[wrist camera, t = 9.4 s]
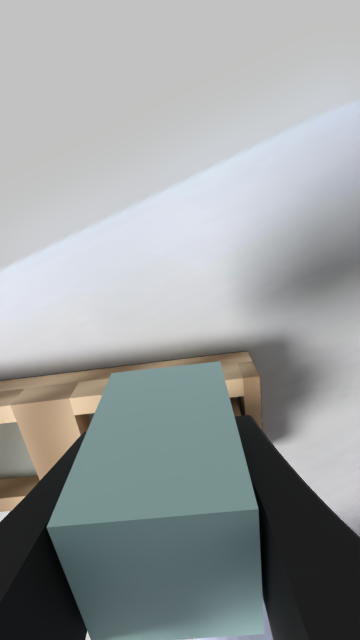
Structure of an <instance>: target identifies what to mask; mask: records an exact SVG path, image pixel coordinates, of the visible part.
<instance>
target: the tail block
mask: <svg viewBox="0 0 360 640" xmlns="http://www.w3.org/2000/svg"><path fill="white" fill-rule="evenodd" d="M47 530H48V532H49V535H50V537H51V540H52V542H53V545H54V547H55V550H56V552H57V555H58V557H59V560H60V563H61V565H62V568H63V570H64V573H65V575H66V578H67V580H68V583H69V585H70V588H71V590H72V593H73V595H74V598H75V600H76V603H77V605H78V608H79V610H80V613H81V616H82V618H83V621H84V623H85V626H86V628H87V631H88V633H89V636H90V638H91V640H182V639H197V638H212V637H226V636H241V635H256V634H264V616H263V595H262V574H261V553H260V532H259V510H258V505H257V502H256V498H255V494H254V490H253V486H252V482H251V478H250V475H249V471H248V467H247V463H246V459H245V455H244V451H243V448H242V444H241V440H240V436H239V432H238V428H237V424H236V421H235V417H234V413H233V409H232V405H231V401H230V397H229V394H228V390H227V386H226V382H225V378H224V374H223V370H222V367H221V363H220V361H218V362H209V363H200V364H191V365H182V366H172V367H163V368H154V369H145V370H136V371H127V372H117V373H111V375H110V378H109V380H108V383H107V385H106V387H105V390H104V392H103V394H102V397H101V399H100V402H99V404H98V406H97V409H96V411H95V414H94V416H93V418H92V421H91V423H90V425H89V428H88V430H87V433H86V435H85V437H84V440H83V442H82V444H81V447H80V449H79V452H78V454H77V456H76V459H75V461H74V463H73V466H72V468H71V471H70V473H69V475H68V478H67V480H66V482H65V485H64V487H63V490H62V492H61V494H60V497H59V499H58V501H57V504H56V506H55V509H54V511H53V513H52V516H51V518H50V521H49V523H48V525H47Z"/></svg>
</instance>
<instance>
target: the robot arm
mask: <svg viewBox="0 0 360 640" xmlns="http://www.w3.org/2000/svg"><path fill="white" fill-rule="evenodd" d="M234 417H235V421H236V424H237V428H238V432H239V436H240V440H241V444H242V448H243V451H244V455H245V459H246V463H247V467H248V471H249V475H250V478H251V482H252V486H253V490H254V494H255V498H256V502H257V505H258V510H259V532H260V553H261V574H262V595H263V616H264V634H256V635H241V636H226V637H212V638H197V639H194V640H360V537H359V536H358V535H357V534H356V533H355V532H354V531H353V530H352V529H350V528H349V527H348V526H347V525H346V524H345V523H344V522H343V521H342V520H341V519H340V518H339V517H338V516H337V515H336V514H335V513H334V512H333V511H332V510H331V509H330V508H329V507H328V506H327V505H326V504H325V503H324V502H323V501H322V500H321V499H320V498H319V497H318V495H317V494H316V493H315V492H314V491H313V490H312V489H311V488H310V487H309V486H308V485H307V484H306V483H305V482H304V481H303V479H302V478H301V477H300V476H299V475H298V474H297V473H296V471H295V470H294V469H293V468H292V467H291V466H290V465H289V463H288V462H287V461H286V460H285V459H284V458H283V456H282V455H281V454H280V453H279V452H278V450H277V449H276V448H275V447H274V445H273V444H272V443H271V442H270V440H269V439H268V438H267V436H266V435H265V434H264V432H263V431H262V430H261V428H260V427H259V425H258V424H257V422H256V421H255V419H254V418H253V417H252V416H250V415H243V416H234ZM86 433H87V431H86V432H84V433H83V434H82V435H81V436H80V437H79V438H78V439H77V440H76V441H75V442H74V443H73V445H72V446H71V447H70V448H69V449H68V450H67V451H66V452H65V454H64V455H63V456H62V457H61V458H60V459H59V460H58V461H57V463H56V464H55V465H54V466H53V467H52V468H51V469H50V470H49V471H48V473H47V474H46V475H45V476H44V477H43V478H42V479H41V480H40V481H39V482H38V483H37V485H36V486H35V487H34V488H33V489H32V490H31V491H30V492H29V493H28V494H27V495H26V496H25V497H24V498H23V500H22V501H21V502H20V503H19V504H18V505H17V506H16V507H15V508H14V509H13V510H12V511H11V512H10V513H9V514H8V515H7V516H6V517H5V518H4V519H3V520H2V521H1V522H0V640H85V638H86V634H87V628H86V626H85V623H84V621H83V618H82V616H81V613H80V610H79V608H78V605H77V603H76V600H75V598H74V595H73V593H72V590H71V588H70V585H69V583H68V580H67V578H66V575H65V573H64V570H63V568H62V565H61V563H60V560H59V557H58V555H57V552H56V550H55V547H54V545H53V542H52V540H51V537H50V535H49V532H48V530H47V525H48V523H49V521H50V518H51V516H52V513H53V511H54V509H55V506H56V504H57V501H58V499H59V497H60V494H61V492H62V490H63V487H64V485H65V482H66V480H67V478H68V475H69V473H70V471H71V468H72V466H73V463H74V461H75V459H76V456H77V454H78V452H79V449H80V447H81V444H82V442H83V440H84V437H85V435H86Z"/></svg>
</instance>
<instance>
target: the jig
mask: <svg viewBox="0 0 360 640" xmlns="http://www.w3.org/2000/svg"><path fill="white" fill-rule="evenodd" d="M218 361H220V363H221V367H222V370H223V374H224V378H225V382H226V386H227V390H228V394H229V397H230V398H231V397H236V400H237V403H238V407H239V410H240V413H241V416H243V415H250V416H252V417H253V418H254V419H255V421H256V422H257V424H258V425H259V427H260V428H261V430H262V412H261V392H260V376H259V374H258V372H257V370H256V367H255V365H254V363H253V361H252V359H251V357H250V355H249V353H248V351H244V352H236V353H228V354H220V355H211V356H203V357H195V358H186V359H178V360H170V361H162V362H153V363H145V364H137V365H129V366H120V367H112V368H104V369H95V370H87V371H79V372H71V373H62V374H54V375H46V376H38V377H29V378H21V379H13V380H5V381H0V512H3V511H12V510H13V509H14V508H15V507H16V506H17V505H18V504H19V503H20V502H21V501H22V500H23V498H24V497H25V496H26V495H27V494H28V493H29V492H30V491H31V490H32V489H33V488H34V487H35V486H36V485H37V483H38V482H39V481H40V480H41V479H42V478H43V477H44V476H45V475H46V474H47V473H48V471H49V470H50V469H51V468H52V467H53V466H54V465H55V464H56V463H57V461H58V460H59V459H60V458H61V457H62V456H63V455H64V454H65V452H66V451H67V450H68V449H69V448H70V447H71V446H72V445H73V443H74V442H75V441H76V440H77V439H78V438H79V437H80V436H81V435H82V434H83V433H84V432H86V431H87V430H88V428H89V425H90V423H91V421H92V418H93V416H94V414H95V411H96V409H97V406H98V404H99V402H100V399H101V397H102V394H103V392H104V390H105V387H106V385H107V383H108V380H109V378H110V375H111V373H117V372H127V371H136V370H145V369H154V368H163V367H172V366H182V365H191V364H200V363H209V362H218Z"/></svg>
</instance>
